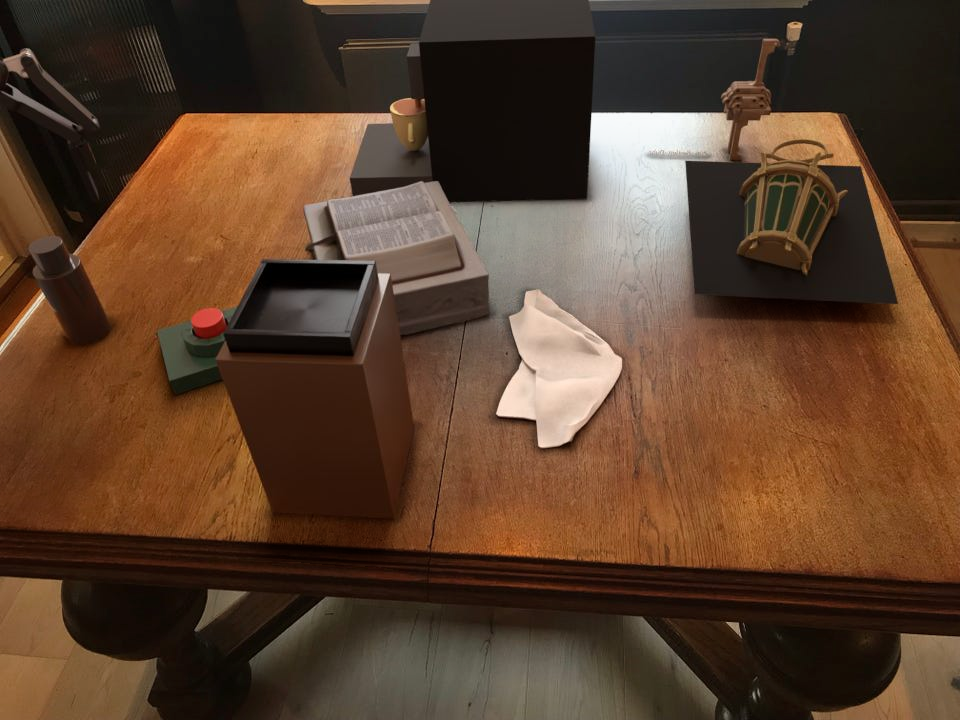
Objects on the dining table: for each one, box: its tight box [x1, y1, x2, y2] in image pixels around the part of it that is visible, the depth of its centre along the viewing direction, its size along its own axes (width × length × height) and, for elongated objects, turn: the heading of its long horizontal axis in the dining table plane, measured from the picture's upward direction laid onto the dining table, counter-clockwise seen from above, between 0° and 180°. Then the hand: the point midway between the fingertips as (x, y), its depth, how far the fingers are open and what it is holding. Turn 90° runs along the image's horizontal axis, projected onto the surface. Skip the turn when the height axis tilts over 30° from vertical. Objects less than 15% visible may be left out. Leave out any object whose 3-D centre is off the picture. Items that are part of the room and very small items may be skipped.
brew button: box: [190, 307, 226, 339], centre depth 90 cm, size 4×4×2 cm
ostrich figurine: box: [649, 38, 781, 161], centre depth 117 cm, size 17×7×18 cm, turn 84°
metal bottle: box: [28, 235, 112, 346], centre depth 93 cm, size 5×5×13 cm
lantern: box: [684, 138, 899, 305], centre depth 99 cm, size 14×23×30 cm
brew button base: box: [156, 305, 238, 395], centre depth 91 cm, size 12×10×4 cm
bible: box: [302, 181, 491, 336], centre depth 99 cm, size 23×27×10 cm
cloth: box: [495, 288, 623, 449], centre depth 88 cm, size 26×14×2 cm, turn 172°
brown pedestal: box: [215, 258, 415, 520], centre depth 71 cm, size 12×12×22 cm
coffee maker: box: [349, 0, 596, 203], centre depth 114 cm, size 18×35×24 cm, turn 88°
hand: (31, 213), depth 86 cm, fingers open, 13 cm apart
